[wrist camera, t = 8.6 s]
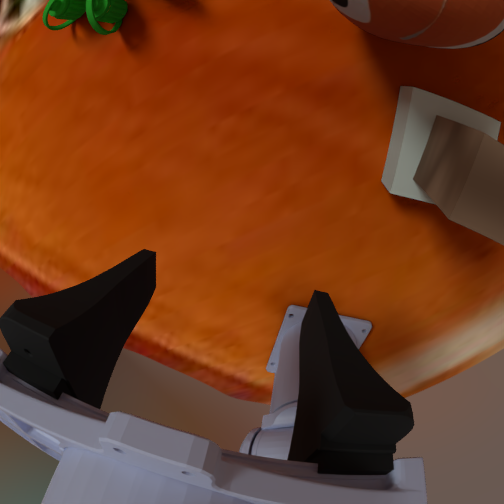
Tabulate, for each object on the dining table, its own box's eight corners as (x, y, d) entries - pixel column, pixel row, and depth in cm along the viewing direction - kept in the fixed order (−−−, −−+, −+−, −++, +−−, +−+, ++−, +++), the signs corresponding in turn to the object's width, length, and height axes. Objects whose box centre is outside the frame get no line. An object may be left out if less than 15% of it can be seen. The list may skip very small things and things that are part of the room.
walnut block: (465, 202, 17) (507, 247, 12) (412, 179, 17) (448, 219, 12) (488, 144, 15) (541, 173, 10) (436, 114, 15) (484, 132, 10)
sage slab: (458, 199, 20) (474, 215, 18) (379, 179, 21) (390, 193, 18) (480, 115, 16) (500, 122, 14) (398, 85, 17) (413, 86, 14)
